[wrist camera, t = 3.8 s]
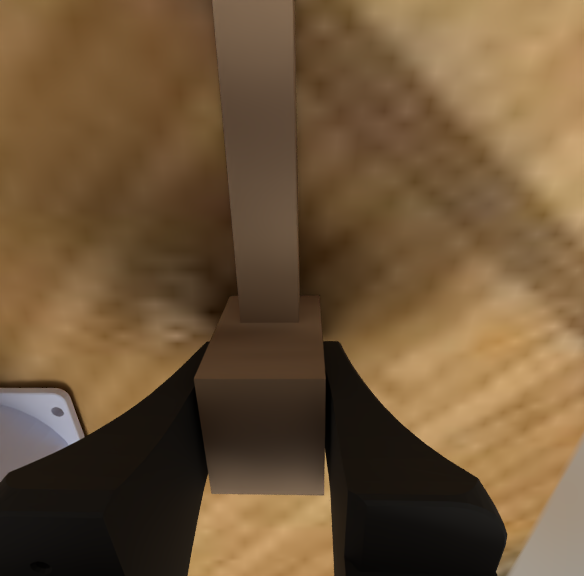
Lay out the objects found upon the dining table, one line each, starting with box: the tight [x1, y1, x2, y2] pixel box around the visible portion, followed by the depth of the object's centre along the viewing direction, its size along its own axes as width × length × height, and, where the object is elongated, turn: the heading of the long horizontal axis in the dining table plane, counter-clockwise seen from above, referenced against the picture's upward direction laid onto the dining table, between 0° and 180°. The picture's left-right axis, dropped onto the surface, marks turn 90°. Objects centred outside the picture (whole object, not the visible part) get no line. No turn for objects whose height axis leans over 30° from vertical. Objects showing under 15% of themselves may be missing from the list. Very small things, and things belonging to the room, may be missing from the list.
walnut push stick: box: [194, 0, 326, 495], centre depth 10 cm, size 16×5×5 cm, turn 1°
